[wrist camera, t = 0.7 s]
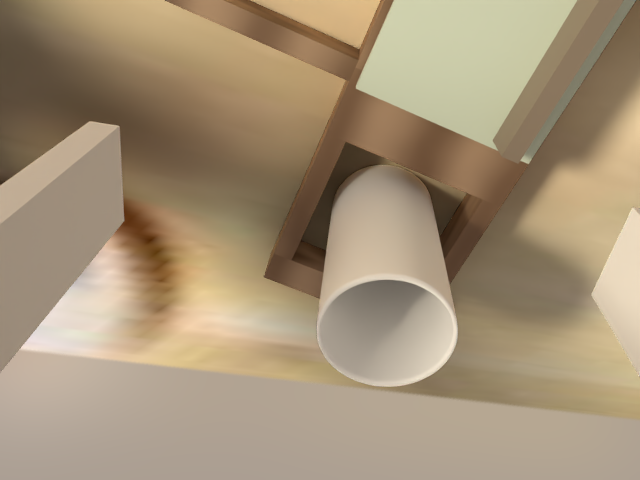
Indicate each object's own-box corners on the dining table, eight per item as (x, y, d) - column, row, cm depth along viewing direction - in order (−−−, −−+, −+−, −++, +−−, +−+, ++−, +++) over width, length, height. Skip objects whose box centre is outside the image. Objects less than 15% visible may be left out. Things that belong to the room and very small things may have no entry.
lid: (355, 85, 37) (354, 101, 34) (451, -130, 31) (461, -136, 28) (525, 159, 39) (539, 181, 36) (648, -31, 33) (680, -25, 29)
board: (128, 199, 48) (111, 218, 44) (245, -260, 32) (232, -278, 29) (413, 310, 51) (416, 335, 48) (646, -56, 35) (671, -54, 32)
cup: (401, 146, 43) (415, 252, 29) (449, 226, 46) (483, 356, 33) (313, 195, 46) (288, 313, 32) (364, 267, 49) (361, 404, 35)
